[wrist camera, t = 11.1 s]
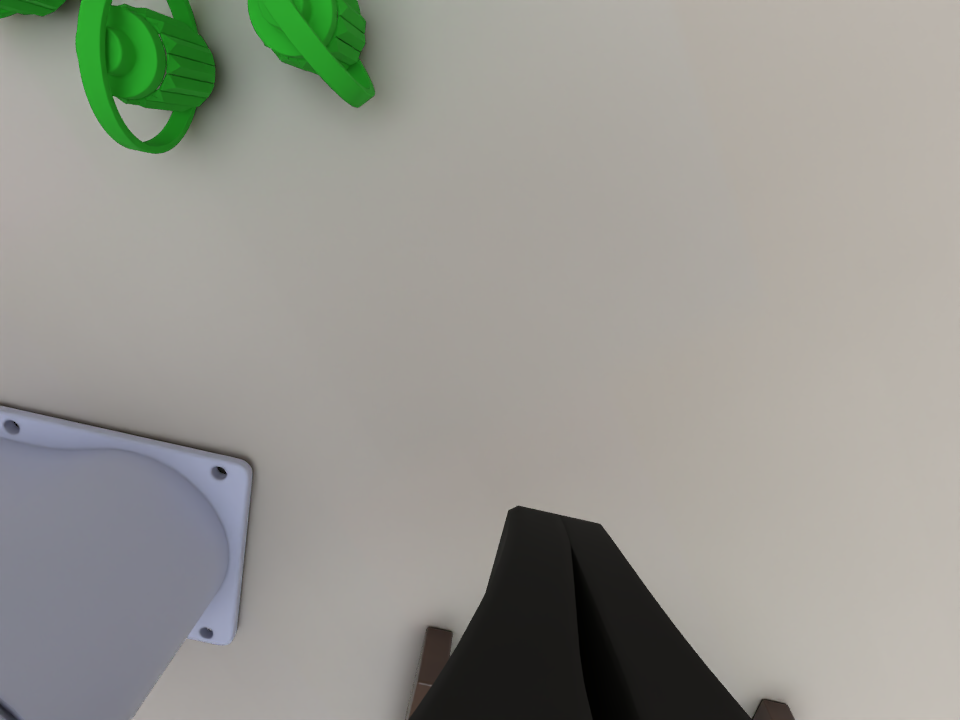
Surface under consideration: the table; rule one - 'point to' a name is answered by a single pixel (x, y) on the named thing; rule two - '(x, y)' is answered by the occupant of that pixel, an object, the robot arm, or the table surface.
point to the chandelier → (199, 56)
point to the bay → (436, 653)
